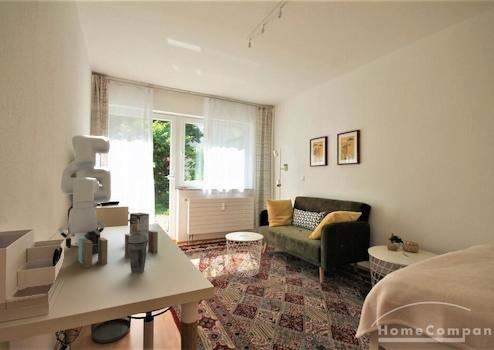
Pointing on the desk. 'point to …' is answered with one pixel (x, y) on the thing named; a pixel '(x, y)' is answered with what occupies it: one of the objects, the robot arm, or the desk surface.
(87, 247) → the domino
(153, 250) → the domino
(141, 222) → the coffee box
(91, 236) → the supplement bottle
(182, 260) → the desk surface
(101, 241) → the domino
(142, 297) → the desk surface
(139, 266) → the beverage cup
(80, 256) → the teal domino
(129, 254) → the domino
